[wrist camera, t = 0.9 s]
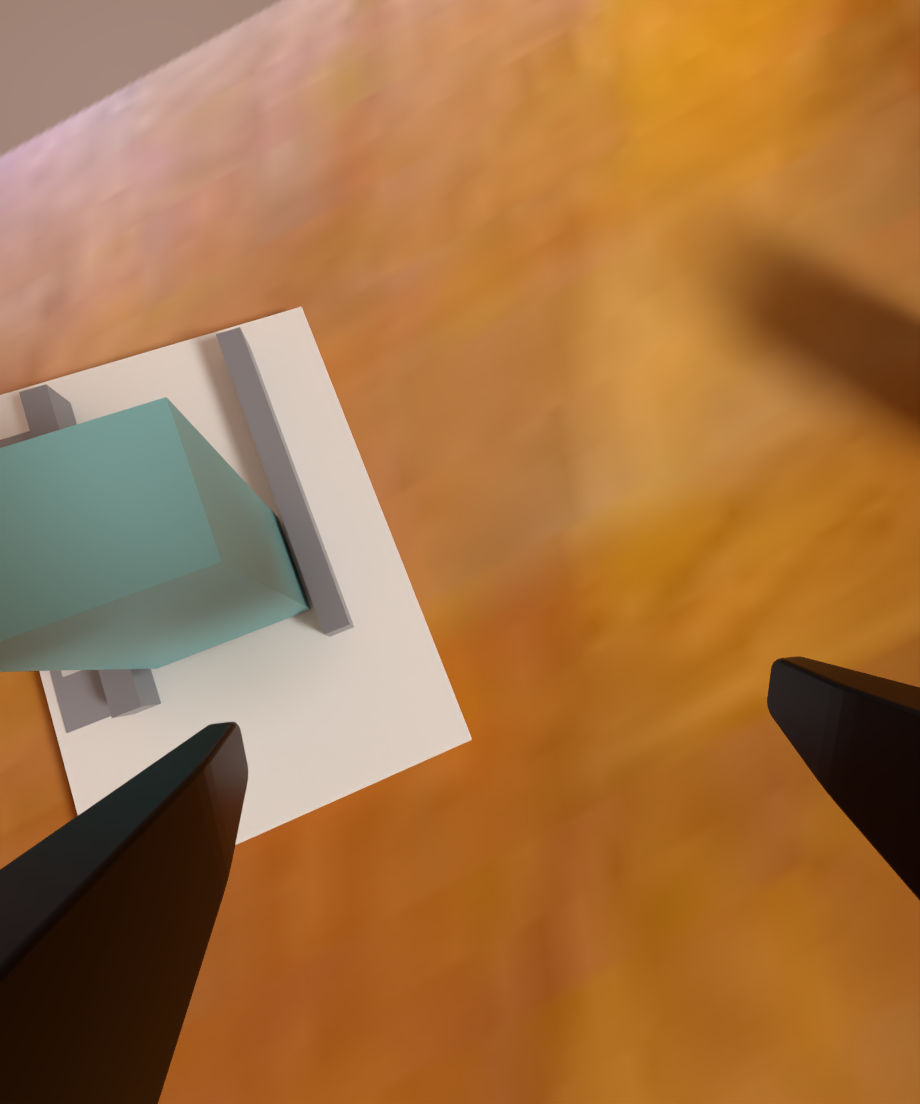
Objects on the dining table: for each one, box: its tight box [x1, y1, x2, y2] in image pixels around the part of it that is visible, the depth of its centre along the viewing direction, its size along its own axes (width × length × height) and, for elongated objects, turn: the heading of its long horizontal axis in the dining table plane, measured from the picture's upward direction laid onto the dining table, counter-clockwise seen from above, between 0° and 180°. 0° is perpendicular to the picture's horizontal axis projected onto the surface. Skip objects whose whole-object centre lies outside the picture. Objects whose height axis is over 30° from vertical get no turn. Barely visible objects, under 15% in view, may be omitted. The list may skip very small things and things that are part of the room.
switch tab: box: [0, 397, 311, 672], centre depth 16 cm, size 4×6×10 cm, turn 112°
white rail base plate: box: [0, 307, 472, 845], centre depth 21 cm, size 20×14×2 cm
